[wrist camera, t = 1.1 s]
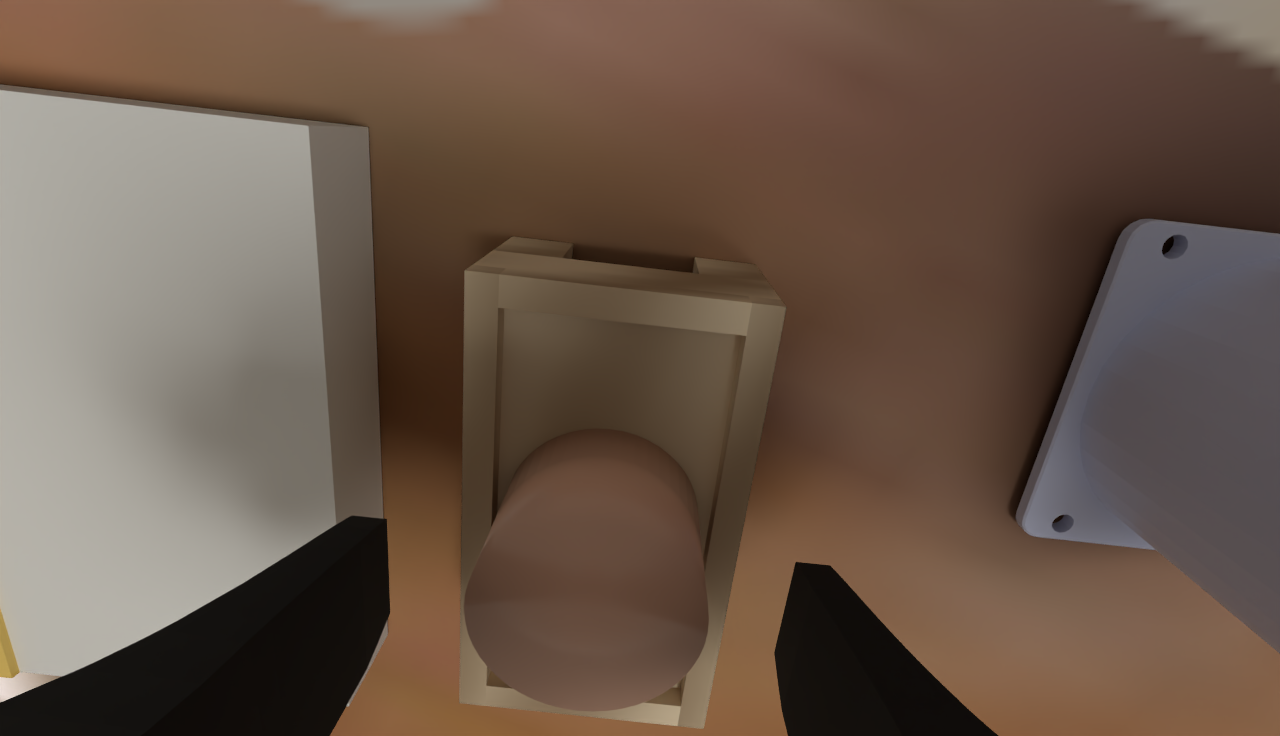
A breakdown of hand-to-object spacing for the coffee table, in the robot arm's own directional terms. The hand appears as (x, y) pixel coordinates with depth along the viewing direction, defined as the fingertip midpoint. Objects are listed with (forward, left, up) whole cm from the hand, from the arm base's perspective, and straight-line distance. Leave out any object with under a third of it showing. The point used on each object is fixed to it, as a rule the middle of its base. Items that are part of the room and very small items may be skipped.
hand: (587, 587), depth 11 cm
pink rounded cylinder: (0, 0, -2) cm, 2 cm away
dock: (+10, 0, -5) cm, 12 cm away
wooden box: (0, 0, -6) cm, 6 cm away
